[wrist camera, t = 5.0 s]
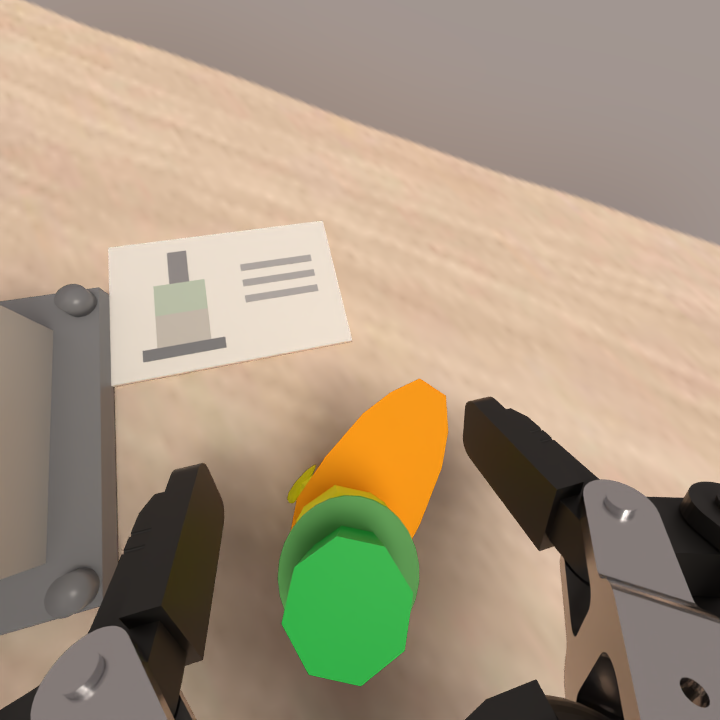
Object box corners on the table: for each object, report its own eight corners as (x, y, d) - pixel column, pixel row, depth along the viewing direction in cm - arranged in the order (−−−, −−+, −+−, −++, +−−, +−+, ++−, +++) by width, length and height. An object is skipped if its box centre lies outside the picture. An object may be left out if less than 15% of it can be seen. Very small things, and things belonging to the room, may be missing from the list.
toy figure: (353, 404, 17) (410, 278, 5) (411, 444, 16) (606, 402, 5) (269, 526, 15) (67, 751, 3) (334, 574, 14) (365, 1019, 3)
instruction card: (113, 386, 16) (110, 385, 15) (110, 249, 18) (107, 246, 18) (352, 341, 18) (352, 339, 17) (322, 223, 20) (322, 219, 20)
